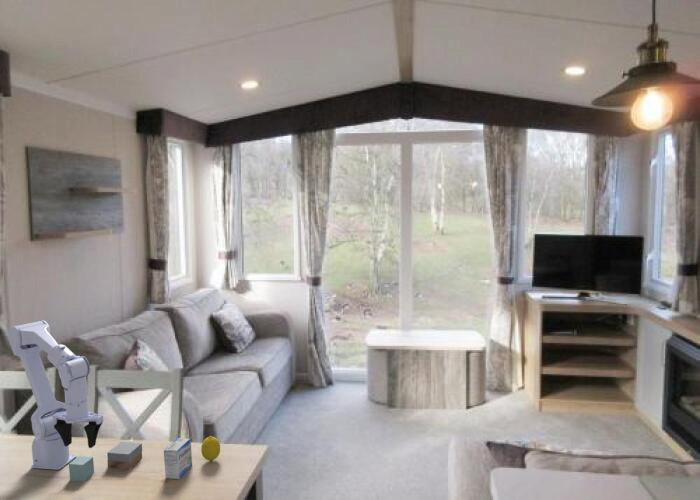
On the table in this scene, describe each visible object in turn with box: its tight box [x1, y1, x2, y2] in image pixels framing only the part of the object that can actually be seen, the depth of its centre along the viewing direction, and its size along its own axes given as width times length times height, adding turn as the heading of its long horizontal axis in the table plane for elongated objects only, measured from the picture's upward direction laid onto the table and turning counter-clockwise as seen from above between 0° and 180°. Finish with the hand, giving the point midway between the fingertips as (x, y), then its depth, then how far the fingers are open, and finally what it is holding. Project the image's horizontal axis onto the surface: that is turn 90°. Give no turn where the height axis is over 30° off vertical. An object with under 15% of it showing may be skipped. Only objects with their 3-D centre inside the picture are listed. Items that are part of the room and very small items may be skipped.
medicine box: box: [163, 437, 193, 480], centre depth 154 cm, size 8×4×9 cm, turn 168°
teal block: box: [68, 455, 95, 482], centre depth 153 cm, size 4×4×5 cm
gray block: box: [106, 441, 143, 462], centre depth 160 cm, size 7×7×2 cm
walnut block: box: [107, 451, 143, 470], centre depth 160 cm, size 7×7×2 cm
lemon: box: [200, 435, 221, 462], centre depth 160 cm, size 6×6×8 cm
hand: (80, 445), depth 152 cm, fingers open, 7 cm apart
